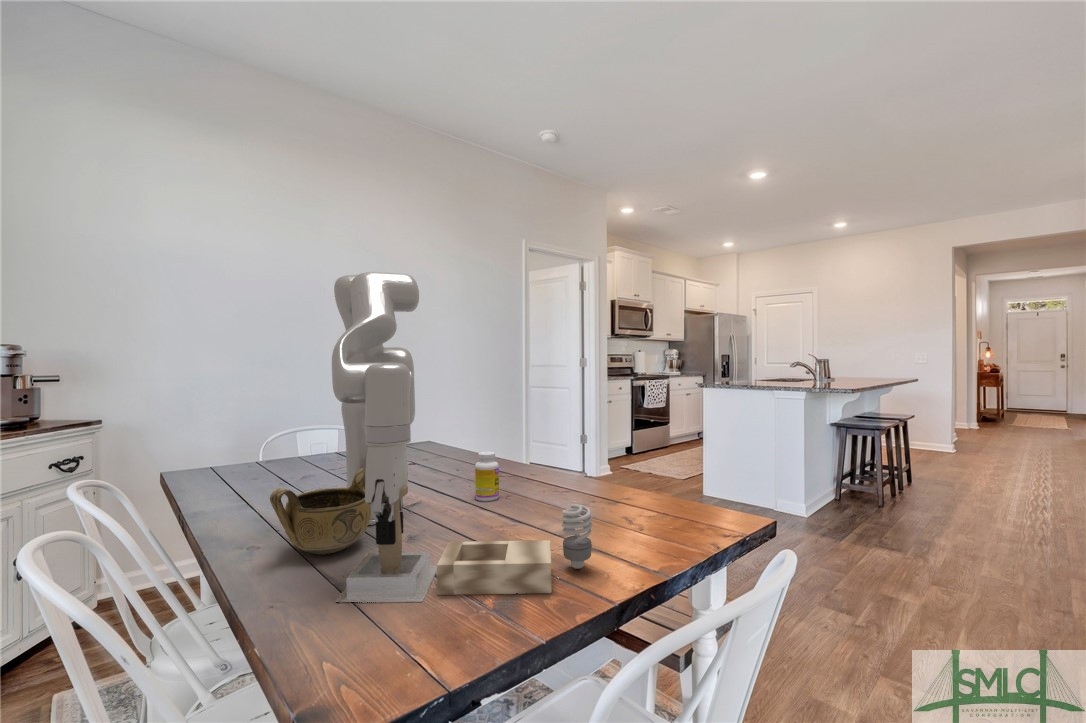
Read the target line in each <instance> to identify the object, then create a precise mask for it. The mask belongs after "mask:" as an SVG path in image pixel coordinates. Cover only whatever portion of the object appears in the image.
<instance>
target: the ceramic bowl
mask: <svg viewBox="0 0 1086 723" xmlns="http://www.w3.org/2000/svg"><path fill="white" fill-rule="evenodd" d="M365 475H366V468H361V469H359V470H358V471H357V473H356V474H355V476H354V478H353V481H352V485H351V486H350V487H349V488H347V487H334V488H333V487H332V488H331V487H330V488H321V489H315V490H311V491H310V490H309V491H306V492H302V493H298V494H296V493H295V492H294V491H292V490H290V489H286V488H276V489H274V490H273V491H272V492H271V495H270V496H269V501H270V504H271V507H272V508H273V510H274V512H275V514H276V516H277V518H278V520H279V522H280V524H281V526H282V527H283V529H284V532H285V534H286V536H287V537H288V538H289V541H290V542H291V543H292V544H293V545H294V546H295V547H297V549H300V550H302V551H303V552H306V553H309V554H314V555H320V556H321V555H330V554H334V553H338V552H341V551H344V549H347V548H349V547H350V546H352V545H354V544H355V543H356V542H357V541H358V540H359V539H360V538H362V536H363V535H364V533H365V532H366V531H367V529H368V526H369V525H368V524H369V520H370V514H371V506H370V505H368V504H366V502H365ZM284 495H285V497H287V500H286V502H285V503H286V504H285V506H284V504H283V502H282V497H283V496H284Z"/></svg>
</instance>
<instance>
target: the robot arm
mask: <svg viewBox="0 0 1086 723" xmlns="http://www.w3.org/2000/svg"><path fill="white" fill-rule="evenodd" d="M333 286H334V287H333V291H334V292H333V293H334V298H335V304H336V307H337V309H338V312H339V315H340V318H341V320H342V323H343V325H344V327H345V332H343V334H342V335H341V336H340V337H339V338H338V340H337V342H336V343H335V345H334V348H333V350H332V355H331V377H332V378H331V379H332V380H331V381H332V382H331V383H332V390H333V394H334V397H335V398H336V399H337V400H338V401H339V402H341V416H342V417H341V418H342V422H343V428H344V436H345V451H346V452H345V455H346V456H345V458H346V467H345V468H346V488H349V487H350V486H351V485H352V481H353V478H354V476H355V474H356V473H357V471H358V470H359V469H361V468H366V475H365V502H366V504H368V505H370V506H371V514H370V520H369V524H368V526H372V525H375V543H376V545H378V546H379V545H390V544H394V543H395V542H396V526H395V520H393V514H394V502H396V501H397V500H398V499H399V496H400V490H401V489H402V488H403V487H404V486H405V485H407V486H408V485H409V482H408V481H409V469H408V468H409V465H408V452H407V451H408V449H407V444H409V443H411V441H412V440H411V439H412V438H411V436H412V434H411V433H412V432H411V425H412V424H413V422H414V421H415V416H416V395H415V394H416V393H415V366H414V359H413V356H412V353H411V352H410V351H409V350H408V349H406V348H403V347H385V346H384V345H383V344H384V343H386V342H389V341H390V340H391V339H392V338H393V337H394V336H395V334H396V332H397V326H398V325H397V321H396V320H397V319H396V315H395V312H396V313H397V312H399V313H400V312H401V313H402V312H403V313H405V312H407V313H410V312H414V311H415V310H416V309H417V307H418V306H419V302H420V289H419V286H418V283H417V280H416V279H415V278H414V276H412V275H411V274H407V273H400V272H398V273H397V272H378V271H366V272H361V273H359V274H349V275H342V276H340V277H338V278H337V279H336V280H335V282H334V284H333ZM408 487H409V486H408ZM374 493H375V498H374V499H373V496H374ZM384 499H389V500H388V502H384ZM403 499H404V497H402V498H401V499H400V520H401V533H402V534H403V533H404V511H403V510H404V502H403V501H404V500H403ZM384 506H389V512H388V510H387V509H384Z"/></svg>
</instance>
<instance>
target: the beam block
mask: <svg viewBox="0 0 1086 723" xmlns="http://www.w3.org/2000/svg"><path fill="white" fill-rule="evenodd" d="M436 566H437V573H436V584H437V585H436V586H437V587H436V589H437V590H436V591H437V592H436V595H437V596H446V595H447V596H451V595H453V596H456V595H459V596H460V595H502V594H503V595H513V594H515V595H516V593H518V594H519V595H520V594H522V595H523V594H524V595H525V594H526V593H527V594H551V593H552V555H551V540H549V539H547V540H544V539H543V540H540V539H539V540H496V541H495V540H490V541H489V540H488V541H486V540H485V541H484V540H483V541H482V540H479V541H473V540H472V541H448V543H447V544H446V546H445V548H444V551H443V553H442V554H441V556H440V559H439V560H438V562H437V564H436ZM518 594H517V595H518ZM527 594H526V595H527Z"/></svg>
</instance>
